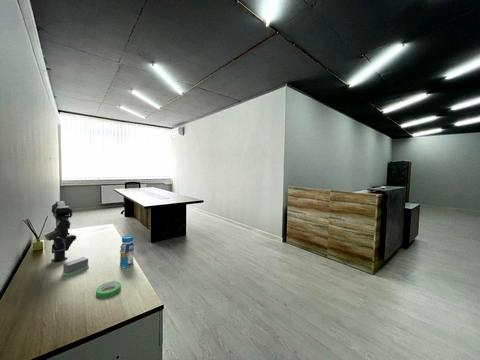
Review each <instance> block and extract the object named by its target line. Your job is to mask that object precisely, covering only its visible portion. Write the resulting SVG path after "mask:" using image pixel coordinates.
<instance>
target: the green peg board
mask: <svg viewBox="0 0 480 360" xmlns="http://www.w3.org/2000/svg"><path fill="white" fill-rule="evenodd" d="M89 268H90V266H89V264H88V266H86V267H84V268H81V269H79V270H76V271H74V272H71V273H69V274H68V273H66V272H63V271H62V274H61V275H63V276H65V277H69V276H72V275H75V274H77V273H80V272H82V271H84V270H87V269H89Z"/></svg>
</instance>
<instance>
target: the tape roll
mask: <svg viewBox="0 0 480 360" xmlns="http://www.w3.org/2000/svg"><path fill="white" fill-rule="evenodd" d="M108 288H109V289H110V288H113V289H110V290H106V289H108ZM121 289H122V283H121V282H119V281H115V280H114V281H107V282H105V283H102V284H101V285H99V286H98V287H97V288H96V291H95V295H96V297H97V298H100V299H103V298H109V297H112V296H115V295H117V294H118V293H120V291H121ZM116 293H117V294H116ZM114 294H115V295H114Z"/></svg>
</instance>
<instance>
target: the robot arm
mask: <svg viewBox="0 0 480 360" xmlns="http://www.w3.org/2000/svg"><path fill="white" fill-rule="evenodd" d="M50 211H51V213H52V216H53V217H54V218H55V227H54V230H53V231H51V232H48V233H46V234H44V235H43V238H44V239H45V240H46V241H49V242H50V241H53V242H52V244H51V248H50V249H51V254H53V259H51V261H53V262H55V263H58V262H62V261H64V260H67V259H68V257H66V252H67V251H69V250H70V247H71V246H72V244H73V243H74V241H76V240H77V236H76V235H74V234H71V233H70V232H69V229H71V222H70V220H69V218H70V219H71V218H72V216H73V209H72V208H71V207H70V206H69V205H68V204H67V203H66V201H65V200H64V201H63V200H60V201H55V203H53V204H52V205H51V210H50Z"/></svg>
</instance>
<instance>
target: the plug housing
mask: <svg viewBox="0 0 480 360" xmlns="http://www.w3.org/2000/svg"><path fill="white" fill-rule="evenodd" d="M88 265H89V258H87V257H84V256H81V257H79V258H75V259H73V260H70V261H67V262H65V263H63V266H62V268H63V269H62V270H63V271H62V272H66V273H68V274H69V273H71V272H74V271H76V270H79V269H81V268H84V267H86V266H88Z"/></svg>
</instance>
